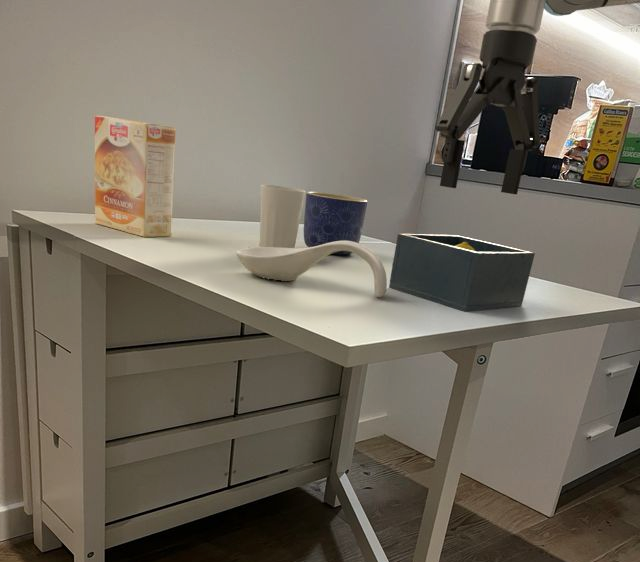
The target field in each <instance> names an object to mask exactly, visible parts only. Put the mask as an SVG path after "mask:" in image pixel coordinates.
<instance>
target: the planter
mask: <svg viewBox="0 0 640 562" xmlns="http://www.w3.org/2000/svg"><path fill="white" fill-rule="evenodd" d="M304 204H305V205H304V215H303V217H304V218H303V241H304V244H305V245H306V248H308V247H314V246H319V245H322V244H326V243H330V242H335V241H352V242H356V243H359V244H360V241H361V237H362V232H363V227H364V223H365V218H366V213H367V206H368V200H367V199H364V198H360V197H356V196H350V195H344V194H337V193H330V192H320V191H306V192H305V203H304ZM351 254H354V253H353V252H350V251H338V252H334V253H331V254H330V255H339V256H343V255H344V256H345V255H351Z"/></svg>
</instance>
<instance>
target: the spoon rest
mask: <svg viewBox="0 0 640 562" xmlns="http://www.w3.org/2000/svg"><path fill="white" fill-rule="evenodd" d="M338 251H350V252H353V253H352V254H355V255H357V256H359V257H360V258H361V259H363V260H365V262H366V263H367V264H368V265H369V267H370V268H371V270H372V274H373V281H374V285H373V286H374V288H373V289H374V291H373V293H374V296H375V297H376V298H381V297H383V295H385V294H386V292H387V287H388V286H387V285H388V283H387V282H388V281H387V280H388V279H387V273H386V269H385V267H384V265H383V262H382V260H381V259H380V258H379V256H378V255H377V254H376V252H375V253H374V251H372V249H370V248H369V247H367V246H365V245H363V244H362V243H360V242H359V243H356V242H352V241H335V242H330V243H326V244H322V245H319V246H314V247H295V248H276V247H260V246H253V247H245V248H241V249H238V250H237V251H236V252H235V253H236V256H237V259H238V261H239V262H240V264H242V266H243V267H244V268H245V269H247V270H248V271H249V272H251V273H252V274H254V275H255V276H257V275H258V276H257V277H259V276H261V277H264V278H263V279H265V278H269V279H274V280H273V281H276V280H281V281H280V282H291V281H295V280H296V279H297V278H298V277H300V276H302V275H303V274H304V273H306V272H307V271H308V270H310V269H311V268H312V267H313V266H315V265H316V264H317V263H318V262H320V261H321V260H323V259H324V258H326V257H328V256H329V255H332V254H331V253H334V252H338ZM261 277H260V278H261ZM269 279H268V280H269Z"/></svg>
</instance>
